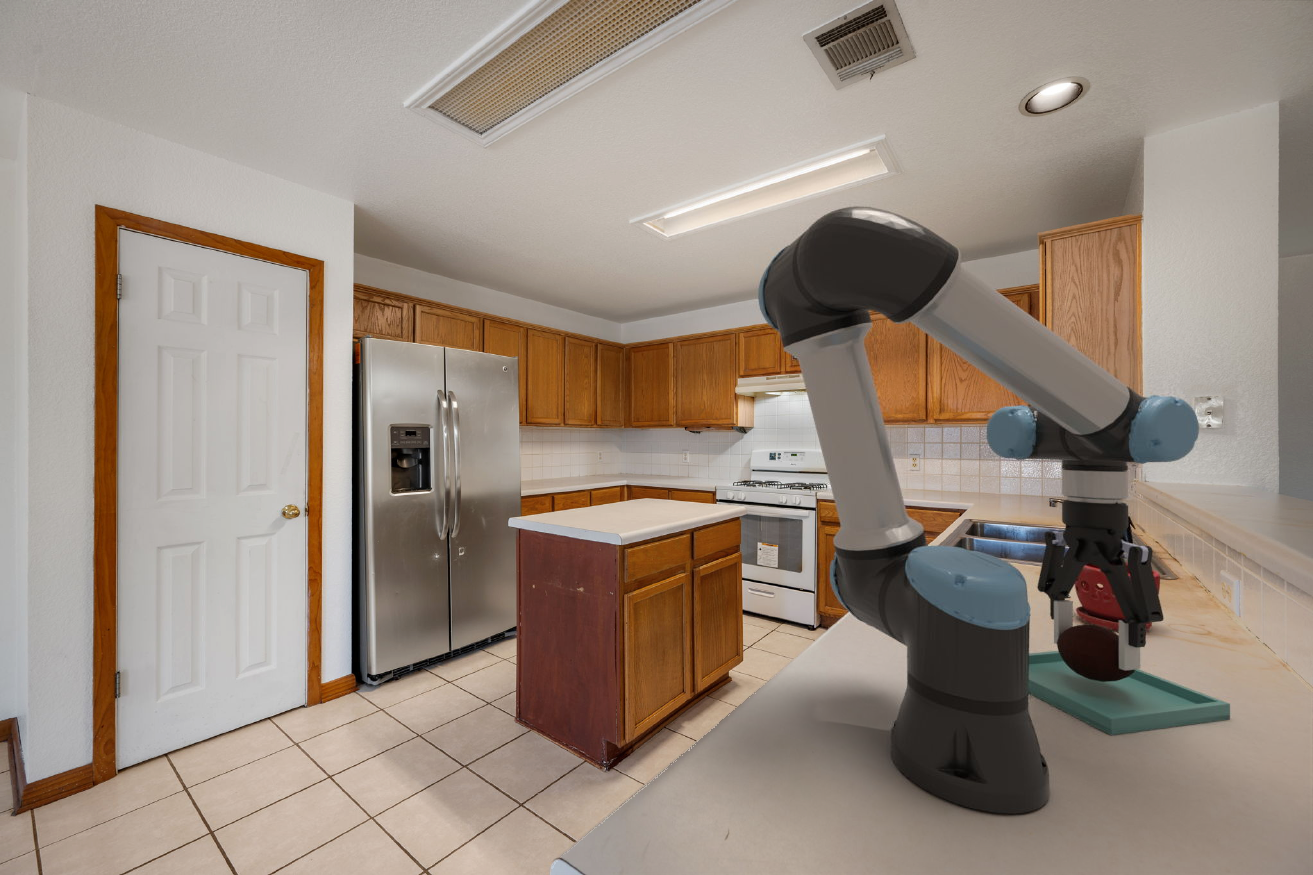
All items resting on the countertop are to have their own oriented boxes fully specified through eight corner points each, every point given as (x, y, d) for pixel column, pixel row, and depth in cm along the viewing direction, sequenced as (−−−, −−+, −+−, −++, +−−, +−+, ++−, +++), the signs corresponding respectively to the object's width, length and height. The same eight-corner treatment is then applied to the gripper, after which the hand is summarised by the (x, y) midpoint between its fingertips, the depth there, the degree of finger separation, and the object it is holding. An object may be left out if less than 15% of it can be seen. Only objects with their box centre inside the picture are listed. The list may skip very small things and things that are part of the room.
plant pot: (1092, 632, 104) (1092, 570, 104) (1063, 612, 116) (1063, 556, 116) (1176, 640, 100) (1176, 575, 100) (1136, 618, 112) (1136, 560, 113)
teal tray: (1111, 735, 67) (1111, 718, 67) (983, 670, 86) (983, 657, 86) (1230, 718, 71) (1230, 703, 71) (1083, 660, 90) (1083, 648, 90)
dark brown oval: (1068, 662, 84) (1068, 612, 85) (1146, 684, 77) (1145, 630, 77) (1045, 673, 80) (1045, 621, 80) (1125, 698, 72) (1125, 641, 72)
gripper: (1202, 508, 69) (1203, 685, 69) (1047, 493, 90) (1047, 628, 90) (1156, 509, 67) (1157, 690, 67) (1009, 493, 88) (1009, 631, 88)
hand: (1094, 655), depth 78 cm, fingers closed on dark brown oval, 9 cm apart
